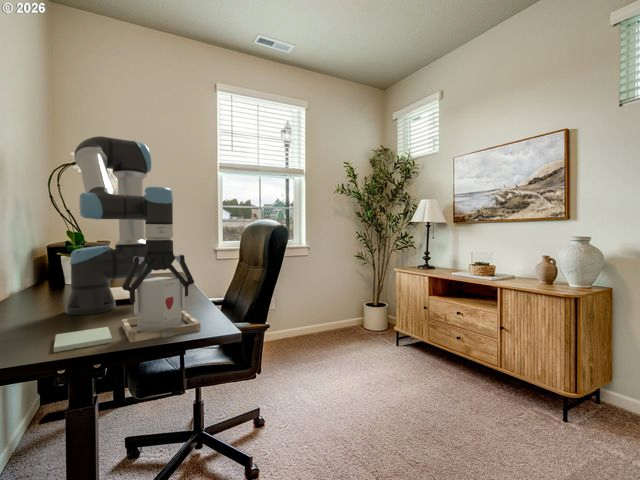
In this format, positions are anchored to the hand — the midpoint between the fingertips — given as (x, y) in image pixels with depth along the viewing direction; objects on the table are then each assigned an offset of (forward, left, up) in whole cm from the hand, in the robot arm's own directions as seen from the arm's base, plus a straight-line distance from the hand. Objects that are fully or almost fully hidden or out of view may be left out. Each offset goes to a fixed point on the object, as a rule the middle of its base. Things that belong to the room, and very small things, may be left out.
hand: (160, 310), depth 100 cm
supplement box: (0, 0, -6) cm, 6 cm away
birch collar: (0, 0, -5) cm, 5 cm away
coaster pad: (0, -19, -5) cm, 20 cm away
